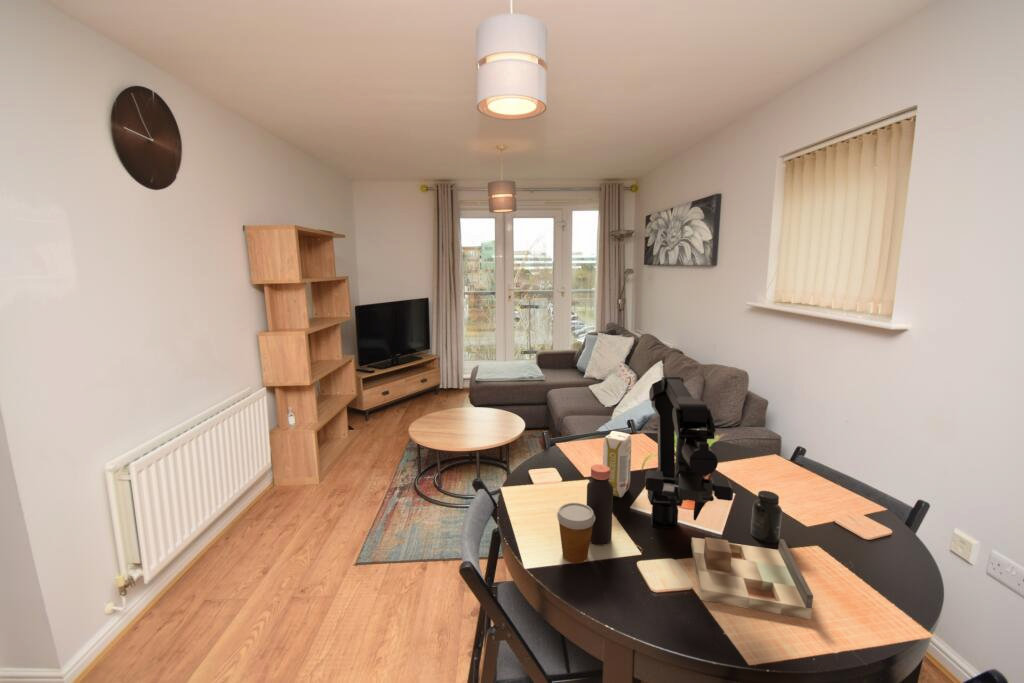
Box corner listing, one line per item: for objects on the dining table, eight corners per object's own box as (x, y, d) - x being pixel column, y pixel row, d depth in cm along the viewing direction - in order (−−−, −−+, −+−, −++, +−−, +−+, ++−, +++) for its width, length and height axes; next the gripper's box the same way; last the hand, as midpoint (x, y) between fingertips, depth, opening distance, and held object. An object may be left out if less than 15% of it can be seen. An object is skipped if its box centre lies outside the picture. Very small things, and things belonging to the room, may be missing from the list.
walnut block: (706, 569, 104) (707, 549, 104) (703, 556, 109) (705, 537, 108) (730, 572, 103) (731, 553, 102) (726, 559, 108) (727, 540, 107)
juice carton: (631, 488, 148) (633, 433, 145) (622, 499, 141) (624, 442, 138) (609, 482, 152) (611, 429, 149) (599, 493, 145) (601, 437, 142)
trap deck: (700, 599, 98) (702, 576, 97) (691, 546, 117) (692, 526, 116) (810, 619, 92) (813, 595, 92) (781, 559, 111) (783, 539, 111)
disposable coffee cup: (585, 572, 107) (586, 526, 105) (549, 559, 112) (550, 514, 110) (600, 551, 115) (601, 508, 113) (566, 540, 120) (566, 498, 118)
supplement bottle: (783, 545, 117) (787, 502, 115) (754, 542, 119) (758, 499, 117) (773, 530, 124) (777, 489, 122) (747, 527, 125) (750, 487, 123)
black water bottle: (616, 538, 121) (618, 467, 118) (602, 549, 116) (604, 476, 113) (594, 528, 125) (596, 460, 122) (580, 538, 121) (582, 468, 117)
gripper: (647, 465, 99) (644, 531, 101) (740, 475, 94) (735, 544, 96) (646, 446, 109) (644, 506, 112) (730, 454, 104) (725, 517, 107)
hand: (685, 518), depth 106 cm, fingers open, 4 cm apart
